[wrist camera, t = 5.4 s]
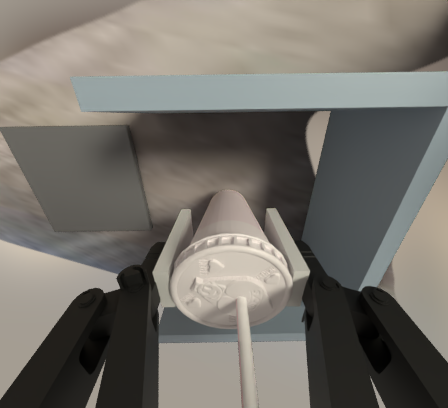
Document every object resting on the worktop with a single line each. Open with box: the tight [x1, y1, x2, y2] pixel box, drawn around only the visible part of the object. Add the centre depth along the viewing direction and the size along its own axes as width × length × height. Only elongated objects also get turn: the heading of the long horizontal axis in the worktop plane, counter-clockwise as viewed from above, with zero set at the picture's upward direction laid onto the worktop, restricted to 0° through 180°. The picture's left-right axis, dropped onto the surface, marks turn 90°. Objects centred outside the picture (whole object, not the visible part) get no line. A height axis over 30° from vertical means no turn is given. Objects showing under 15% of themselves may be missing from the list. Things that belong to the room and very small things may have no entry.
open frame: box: [70, 71, 448, 343], centre depth 15 cm, size 17×19×9 cm
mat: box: [0, 125, 153, 232], centre depth 18 cm, size 11×11×1 cm
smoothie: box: [170, 190, 293, 408], centre depth 11 cm, size 6×6×14 cm
